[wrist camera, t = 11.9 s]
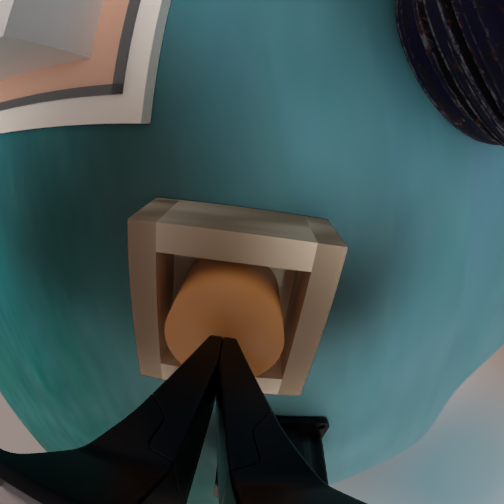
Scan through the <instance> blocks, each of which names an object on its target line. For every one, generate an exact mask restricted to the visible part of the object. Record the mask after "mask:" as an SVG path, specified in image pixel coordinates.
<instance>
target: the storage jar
mask: <svg viewBox="0 0 504 504" xmlns="http://www.w3.org/2000/svg"><path fill="white" fill-rule="evenodd" d="M396 19H397V28H398V32H399V36H400V40H401V44H402V46H403V49H404V52H405V54H406V57H407V60H408V62H409V64H410V66H411V68H412V70H413V72H414V75H415V77H416V78H417V80H418V81H419V83H420V85H421V87H422V88H423V90H424V92H425V93H426V94H427V96H428V97H429V99H430V100H431V101H432V103H433V104H434V106H435V107H436V108H437V109H438V110H439V111H440V112H441V114H442V115H443V116H444V117H445V118H446V119H447V120H448V121H449V122H450V123H451V124H452V125H453V126H455V127H456V128H457V129H458V130H460V131H461V132H463V133H464V134H465V135H467V136H469V137H471V138H473V139H475V140H477V141H480V142H484V143H487V144H493V145H502V146H504V0H397V1H396Z"/></svg>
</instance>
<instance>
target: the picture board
mask: <svg viewBox="0 0 504 504" xmlns="http://www.w3.org/2000/svg"><path fill="white" fill-rule="evenodd" d="M170 3H171V0H104V4H103V7H102V11H101V14H100V18H99V22H98V26H97V31H96V35H95V40H94V44H93V49H92V54H91V59H85V60H79V61H73V62H68V63H63V64H58V65H54V66H49V67H45V68H41V69H37V70H33V71H29V72H26V73H22V74H19V75H16V76H12V77H9V78H6V79H3V80H0V133H6V132H13V131H20V130H28V129H36V128H46V127H57V126H70V125H87V124H150V123H151V113H152V105H153V97H154V89H155V82H156V75H157V69H158V63H159V57H160V51H161V45H162V40H163V35H164V30H165V25H166V21H167V16H168V12H169V7H170Z"/></svg>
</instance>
